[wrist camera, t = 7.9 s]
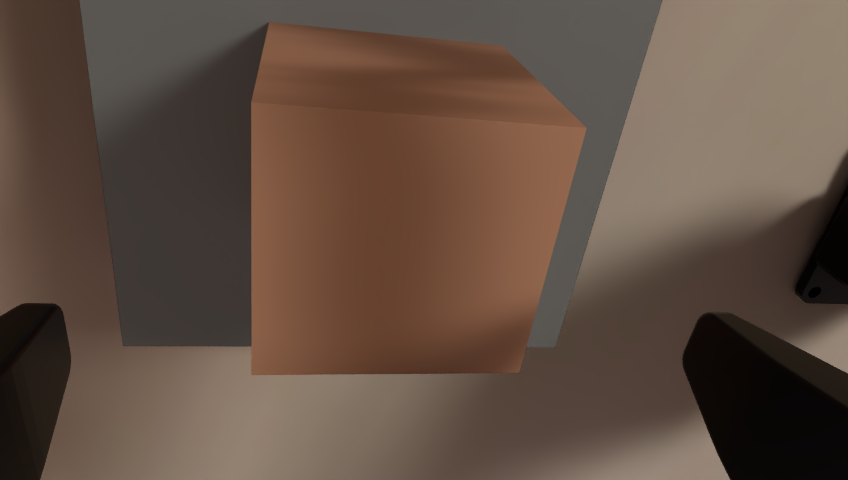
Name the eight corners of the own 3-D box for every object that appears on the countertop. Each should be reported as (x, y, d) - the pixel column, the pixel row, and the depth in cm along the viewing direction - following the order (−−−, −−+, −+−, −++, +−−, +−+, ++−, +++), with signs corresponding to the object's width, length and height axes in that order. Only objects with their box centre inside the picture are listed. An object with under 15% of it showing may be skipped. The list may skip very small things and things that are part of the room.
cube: (501, 45, 14) (587, 127, 10) (464, 240, 16) (519, 373, 12) (268, 21, 13) (251, 101, 9) (266, 233, 15) (251, 374, 11)
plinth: (623, -114, 16) (694, -106, 13) (521, 281, 22) (555, 347, 19) (108, -199, 14) (52, -214, 11) (150, 271, 19) (123, 345, 17)
